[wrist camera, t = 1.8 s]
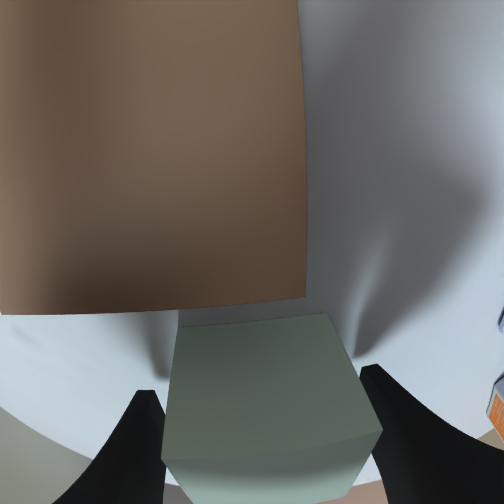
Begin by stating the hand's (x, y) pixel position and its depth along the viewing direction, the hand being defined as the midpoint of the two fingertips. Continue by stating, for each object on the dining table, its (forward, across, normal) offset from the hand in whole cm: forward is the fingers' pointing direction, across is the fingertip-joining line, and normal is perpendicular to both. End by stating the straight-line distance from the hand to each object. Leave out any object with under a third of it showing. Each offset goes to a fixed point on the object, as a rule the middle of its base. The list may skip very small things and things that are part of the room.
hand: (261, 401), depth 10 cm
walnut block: (+2, +3, -9) cm, 10 cm away
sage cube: (+2, 0, 0) cm, 2 cm away
